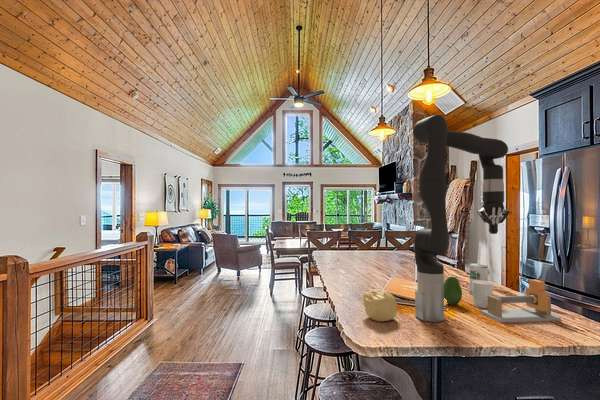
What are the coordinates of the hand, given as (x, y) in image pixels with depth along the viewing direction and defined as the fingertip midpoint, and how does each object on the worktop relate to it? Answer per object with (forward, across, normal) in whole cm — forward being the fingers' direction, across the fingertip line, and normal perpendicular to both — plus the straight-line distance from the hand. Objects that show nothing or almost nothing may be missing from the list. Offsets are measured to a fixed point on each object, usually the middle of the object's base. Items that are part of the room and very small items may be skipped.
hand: (493, 233), depth 131 cm
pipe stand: (+31, +5, -7) cm, 32 cm away
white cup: (+31, 0, +7) cm, 32 cm away
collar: (+28, +12, -7) cm, 31 cm away
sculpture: (+31, -49, -5) cm, 58 cm away
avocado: (+31, -12, +10) cm, 35 cm away
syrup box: (+31, +10, +24) cm, 41 cm away
